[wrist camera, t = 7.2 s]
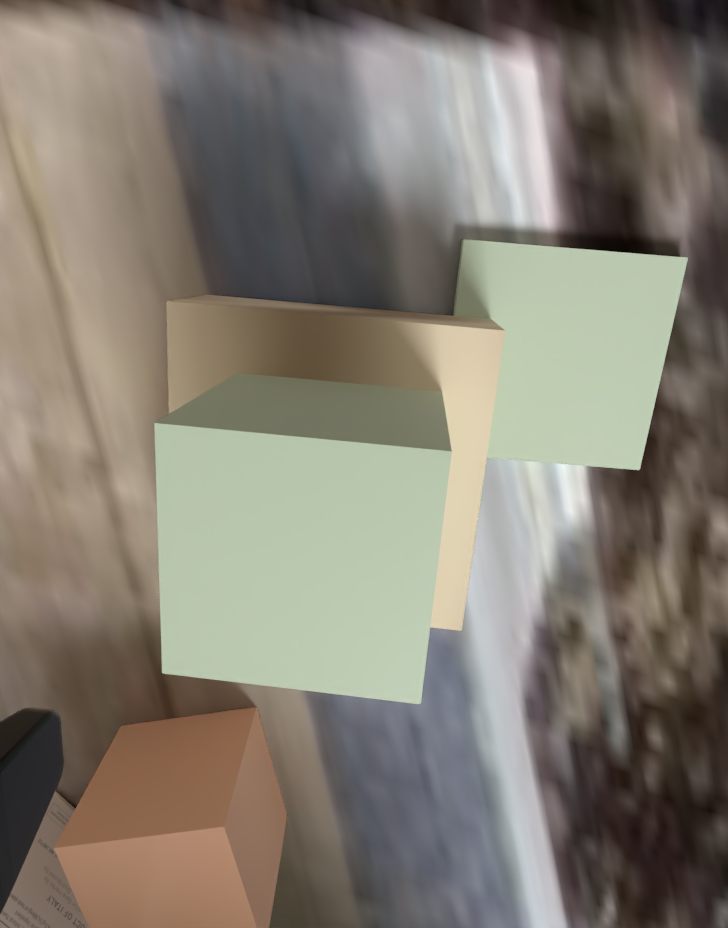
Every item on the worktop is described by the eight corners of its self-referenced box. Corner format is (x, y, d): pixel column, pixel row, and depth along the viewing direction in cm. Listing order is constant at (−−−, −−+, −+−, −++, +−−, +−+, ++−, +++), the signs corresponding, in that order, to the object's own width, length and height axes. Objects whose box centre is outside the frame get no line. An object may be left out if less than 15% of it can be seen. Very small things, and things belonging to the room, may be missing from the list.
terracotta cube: (256, 705, 22) (223, 827, 17) (287, 813, 24) (265, 953, 19) (121, 724, 23) (53, 848, 18) (160, 829, 24) (107, 970, 19)
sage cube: (442, 391, 15) (452, 451, 10) (420, 577, 17) (420, 704, 12) (236, 372, 15) (154, 423, 11) (234, 557, 17) (162, 673, 12)
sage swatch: (680, 257, 17) (687, 257, 17) (634, 465, 19) (639, 470, 19) (462, 239, 17) (463, 239, 17) (436, 449, 19) (437, 453, 19)
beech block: (491, 319, 17) (505, 330, 14) (455, 577, 20) (461, 630, 17) (206, 294, 18) (166, 301, 15) (207, 550, 20) (172, 597, 17)
